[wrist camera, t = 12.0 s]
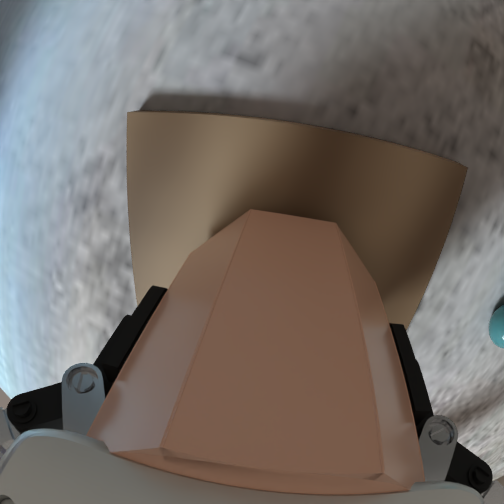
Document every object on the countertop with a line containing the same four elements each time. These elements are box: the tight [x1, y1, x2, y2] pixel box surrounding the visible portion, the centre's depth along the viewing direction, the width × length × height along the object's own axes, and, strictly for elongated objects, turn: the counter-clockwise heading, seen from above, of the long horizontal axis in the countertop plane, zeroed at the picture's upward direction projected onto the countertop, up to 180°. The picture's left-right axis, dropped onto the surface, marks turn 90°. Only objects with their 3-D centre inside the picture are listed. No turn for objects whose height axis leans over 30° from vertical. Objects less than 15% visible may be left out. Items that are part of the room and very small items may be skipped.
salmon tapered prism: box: [86, 209, 425, 495], centre depth 9 cm, size 8×8×9 cm
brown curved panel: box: [127, 111, 468, 330], centre depth 14 cm, size 14×14×1 cm
